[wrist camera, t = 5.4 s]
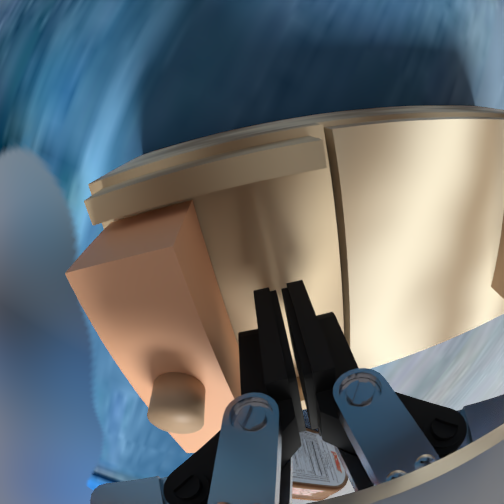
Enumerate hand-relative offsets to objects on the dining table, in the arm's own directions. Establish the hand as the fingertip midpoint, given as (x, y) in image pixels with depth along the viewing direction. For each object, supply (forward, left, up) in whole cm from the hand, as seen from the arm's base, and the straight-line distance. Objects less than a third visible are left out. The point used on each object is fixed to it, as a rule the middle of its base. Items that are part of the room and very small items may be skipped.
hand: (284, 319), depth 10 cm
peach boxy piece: (+3, 0, -1) cm, 4 cm away
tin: (+1, +22, -9) cm, 24 cm away
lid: (-10, 0, -2) cm, 10 cm away
